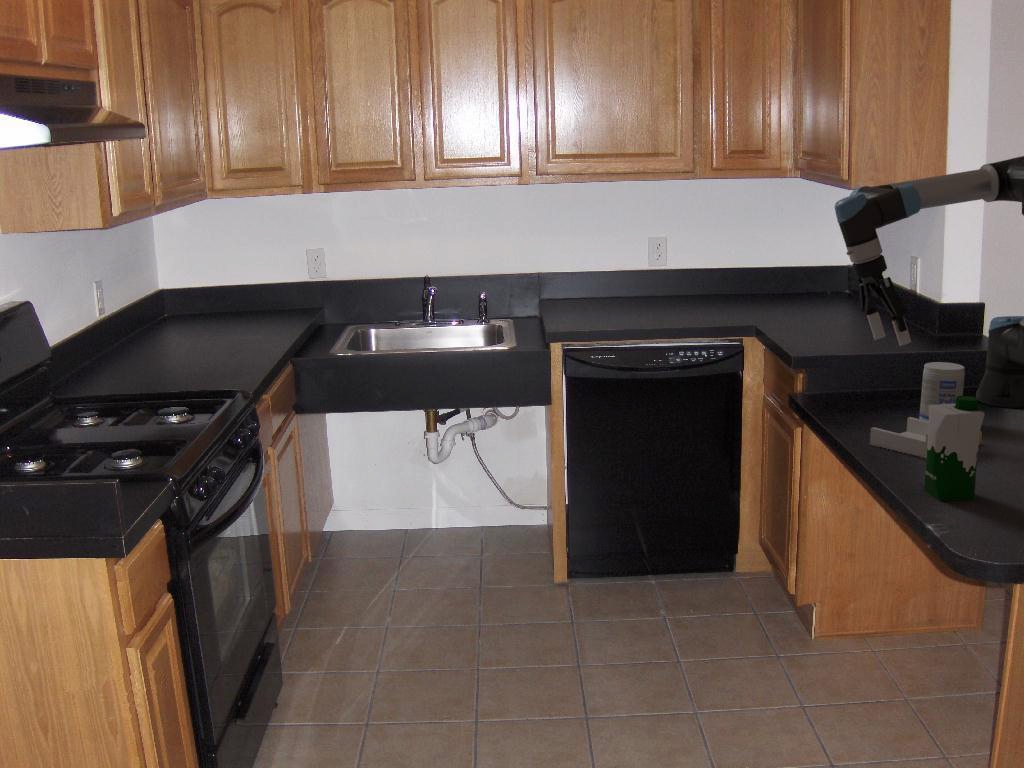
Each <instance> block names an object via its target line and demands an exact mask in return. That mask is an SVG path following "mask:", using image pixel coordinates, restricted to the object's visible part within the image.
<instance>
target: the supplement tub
mask: <svg viewBox="0 0 1024 768" xmlns="http://www.w3.org/2000/svg"><path fill="white" fill-rule="evenodd" d="M923 367H924V368H923V371H922V372H923V373H922V383H921V395H920V396H921V397H920V404H919V405H920V406H919V418H918V419H921V420H925V421H929V405H940V404H956V397H957V396H964V386H965V374H966V373H965V369H966V368H965V366H963V365H962V364H959V363H953V362H946V361H944V362H943V361H942V362H941V361H936V362H935V361H933V362H926V363H925V364H924V365H923Z"/></svg>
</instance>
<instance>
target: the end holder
mask: <svg viewBox="0 0 1024 768" xmlns="http://www.w3.org/2000/svg"><path fill="white" fill-rule="evenodd" d="M906 421H907V422H906V431H904V432H901V433H898V432H894V431H891V430H888V429H887V430H885V429H883V428H879V427H875V426H874V427H871V428H870V436H869V445H870V446H874V447H878V448H880V447H882V448H881V449H884V448H886V449H885V450H888V449H890V450H889V451H892V450H895V451H898V452H897V453H899V452H902V453H901V454H903V453H907V454H912V455H916V456H920V457H924V458H927V446H928V433H929V421H925V420H921V419H920V418H915V417H911V416H909V417H907V420H906ZM895 451H894V452H895ZM907 454H906V455H907Z"/></svg>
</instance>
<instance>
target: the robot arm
mask: <svg viewBox="0 0 1024 768" xmlns="http://www.w3.org/2000/svg"><path fill="white" fill-rule="evenodd" d="M981 200H982V201H984V202H986V203H991V202H1001V201H1002V202H1004V201H1005V202H1017V203H1021V215H1022V216H1023V217H1024V155H1022V156H1017V157H1013V158H1010V159H1003V160H1000V161H999V160H998V161H996V162H991V163H985V164H982V166H980V168H979V169H972V170H967V171H962V172H955V173H949V174H942V175H936V176H931V177H924V178H919V179H918V178H917V179H913V180H912V179H911V180H905V181H898V182H894V183H888V184H882V185H881V184H880V185H876V186H875V185H874V186H868V185H865V186H860V187H857V188H855V189H853V190H852V191H851V193H850V194H849V196H845V197H843V198H842V199H839V200H837V201H836V202H835V204H834V211H835V216H836V221H837V223H838V225H839V228H840V231H841V235H842V238H843V241H844V243H845V247H846V250H847V251H846V255H847V256H849V257H848V258H849V260H850V262H851V263H852V265H851V267H852V270H853V273H854V276H855V278H856V280H857V281H856V282H857V285H858V293H859V303H860V311H861V312H862V313H864V314H865V315H866V317H867V320H868V323H869V326H870V330H871V332H872V337H873V339H874V341H877V340H880V339H883V338H885V337H886V333H885V330H884V329H885V328H884V326H883V323H882V319H881V317H880V314H879V313H880V312H879V309H878V307H877V304H878V303H877V301H878V300H879V301H881V302H882V304H883V306H884V307H885V308H886V310H887V312H888V313H889V314H890V316H891V318H890V321H891V323H892V326H893V329H894V333H895V335H896V339H897V342H898V345H899V347H902V346H905V345H907V344H910V343H912V340H911V336H910V333H909V329H908V326H907V324H906V323H907V322H906V320H905V316H906V315H908V310H907V309H906V306H905V305H904V303H903V302H902V300H901V297H900V295H899V294H898V292H897V290H896V288H895V286H894V283H893V281H892V278H891V277H890V276H887V277H884V275H883V273H884V272H885V271H886V270H888V265H887V263H886V262H887V261H886V260H885V259H886V258H885V256H884V255H883V254H882V253H883V249H882V245H881V242H880V239H879V236H878V233H877V229H881V228H883V227H885V226H887V225H891V224H894V223H896V222H899V221H902V220H905V219H908V218H909V217H912V216H914V215H916V214H918V213H919V212H920V211H921V210H924V209H929V208H930V209H931V208H935V207H943V206H948V205H955V204H961V203H967V202H972V201H973V202H974V201H981ZM989 322H990V323H989V329H988V331H987V332H988V340H987V351H986V352H987V353H986V363H985V372H984V375H983V377H982V379H981V382H980V384H979V387H978V388H977V389H976V393H975V394H976V395H975V397H976V398H978V402H979V401H980V403H981V402H982V404H984V403H985V405H987V406H988V405H989V406H993V407H1001V408H1009V409H1011V408H1012V409H1013V408H1014V409H1024V315H1022V316H1021V315H1014V316H1013V315H1011V316H1010V315H1008V316H1007V315H1006V316H997V317H996V316H995V317H994V318H992V319H991V320H990V321H989Z"/></svg>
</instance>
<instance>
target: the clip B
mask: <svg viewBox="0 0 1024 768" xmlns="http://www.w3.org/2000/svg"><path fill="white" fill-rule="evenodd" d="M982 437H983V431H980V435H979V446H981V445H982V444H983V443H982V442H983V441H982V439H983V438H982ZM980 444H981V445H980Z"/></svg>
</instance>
